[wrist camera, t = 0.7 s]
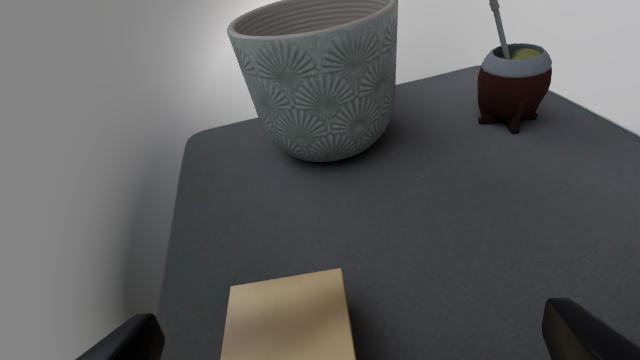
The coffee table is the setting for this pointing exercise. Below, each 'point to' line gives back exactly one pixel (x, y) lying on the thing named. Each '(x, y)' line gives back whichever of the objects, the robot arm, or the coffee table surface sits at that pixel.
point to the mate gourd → (512, 80)
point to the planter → (320, 73)
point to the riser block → (290, 319)
